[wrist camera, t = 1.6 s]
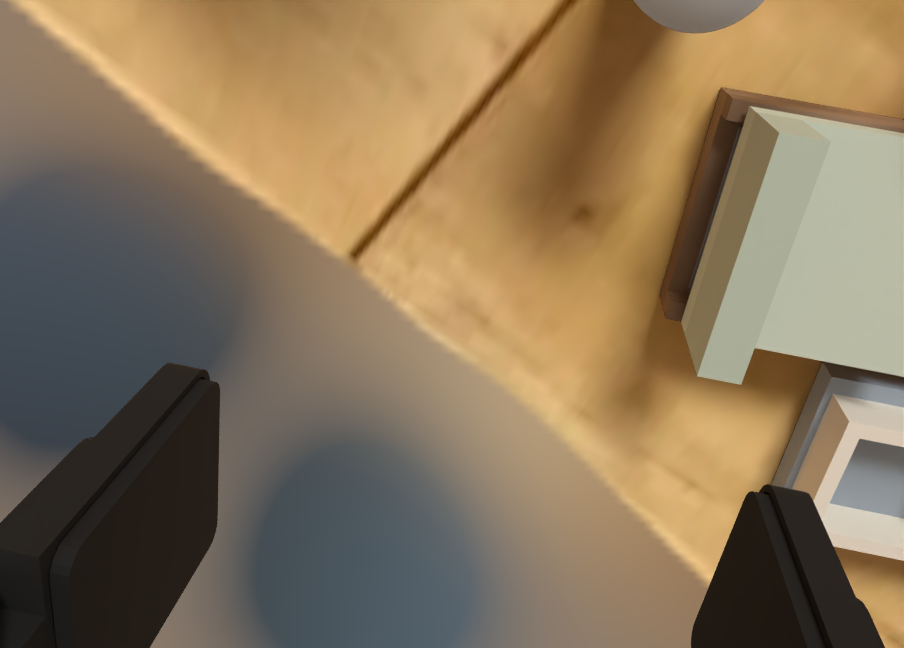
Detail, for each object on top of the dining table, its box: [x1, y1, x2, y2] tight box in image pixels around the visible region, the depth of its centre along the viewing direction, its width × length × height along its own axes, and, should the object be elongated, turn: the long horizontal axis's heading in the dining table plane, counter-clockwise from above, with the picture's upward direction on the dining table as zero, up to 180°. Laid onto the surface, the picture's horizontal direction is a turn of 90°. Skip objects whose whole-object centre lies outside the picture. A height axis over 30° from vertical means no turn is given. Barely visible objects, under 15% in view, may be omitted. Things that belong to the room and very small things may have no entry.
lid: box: [681, 106, 904, 385], centre depth 25 cm, size 8×8×4 cm
